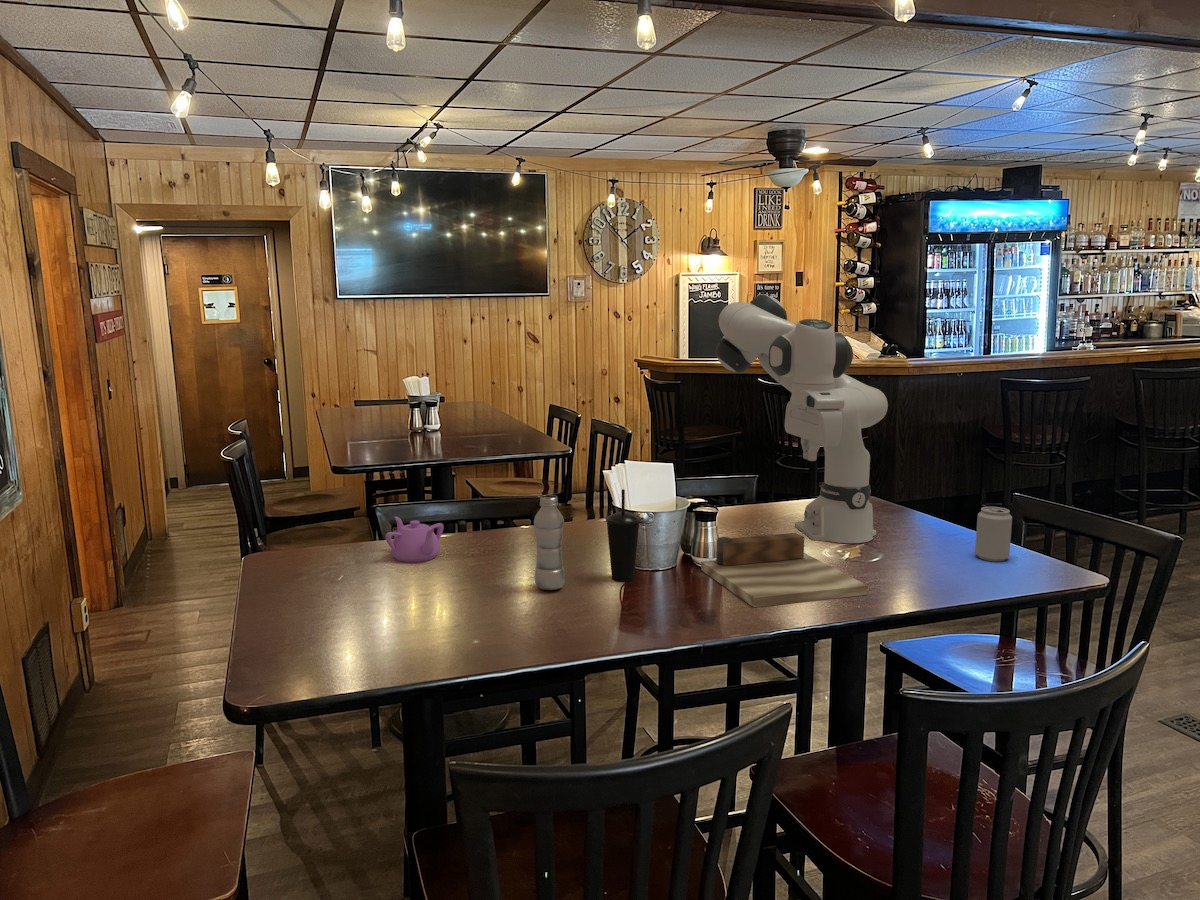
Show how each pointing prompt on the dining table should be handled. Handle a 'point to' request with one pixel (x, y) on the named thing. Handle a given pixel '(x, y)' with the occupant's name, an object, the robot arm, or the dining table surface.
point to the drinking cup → (622, 543)
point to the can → (993, 534)
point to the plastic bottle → (549, 544)
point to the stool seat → (784, 581)
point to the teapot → (414, 541)
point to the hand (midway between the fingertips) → (809, 459)
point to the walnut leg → (759, 549)
